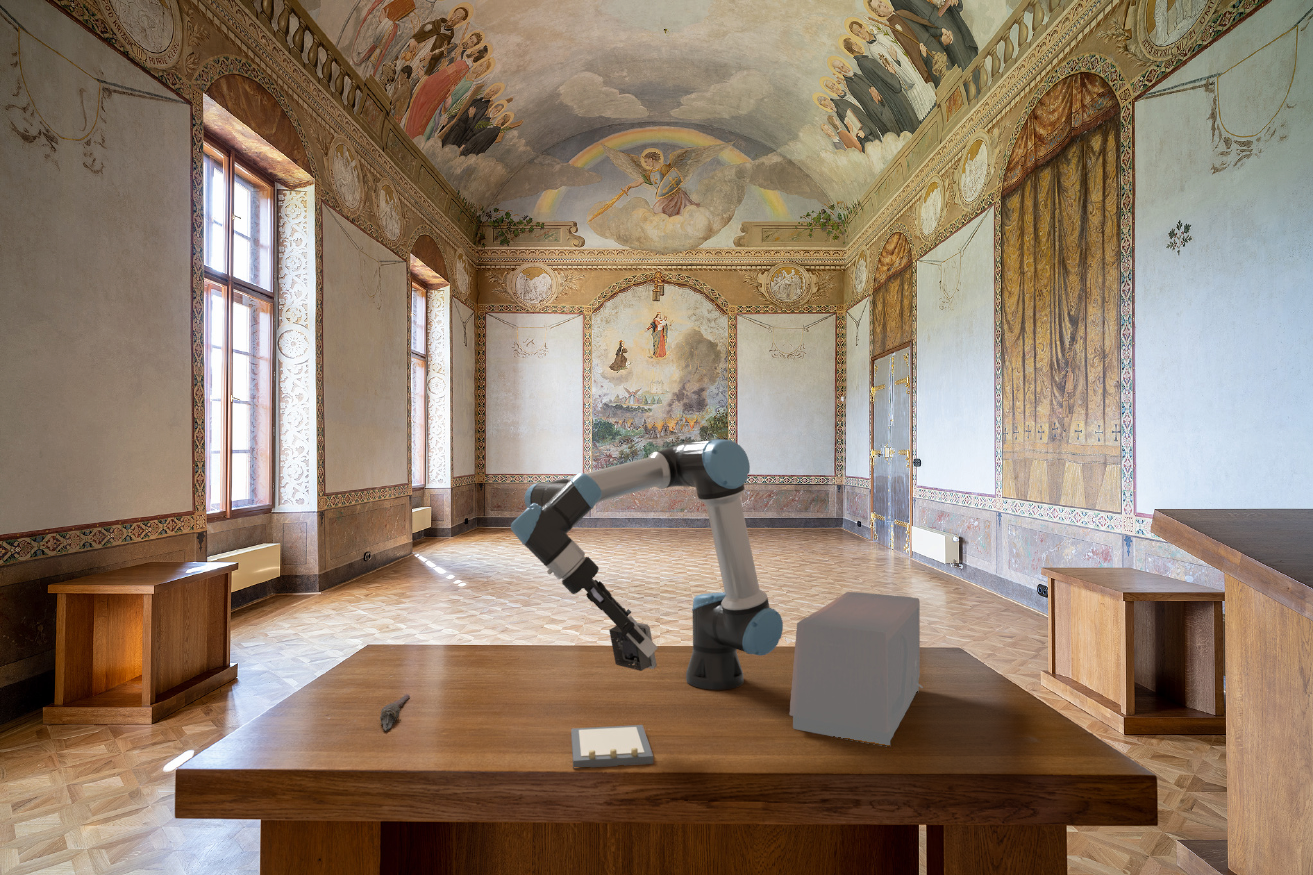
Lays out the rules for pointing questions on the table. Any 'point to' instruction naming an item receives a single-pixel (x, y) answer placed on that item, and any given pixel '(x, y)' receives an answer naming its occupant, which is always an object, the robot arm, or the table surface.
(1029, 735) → the table surface
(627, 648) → the electrical switch
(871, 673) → the grey rounded box
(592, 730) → the plate
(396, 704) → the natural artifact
